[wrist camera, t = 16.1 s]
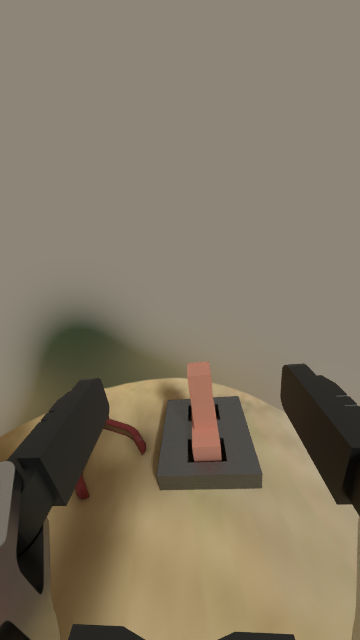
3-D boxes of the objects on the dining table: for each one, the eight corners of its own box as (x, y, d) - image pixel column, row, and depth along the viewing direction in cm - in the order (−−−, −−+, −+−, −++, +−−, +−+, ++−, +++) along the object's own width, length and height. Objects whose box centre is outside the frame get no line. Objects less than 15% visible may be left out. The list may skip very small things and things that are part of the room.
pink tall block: (195, 470, 30) (184, 391, 25) (194, 420, 38) (185, 353, 33) (222, 469, 30) (216, 389, 24) (215, 419, 38) (209, 351, 33)
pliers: (109, 394, 49) (107, 385, 48) (150, 452, 34) (147, 441, 33) (58, 421, 43) (54, 412, 42) (80, 507, 28) (74, 496, 27)
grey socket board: (160, 490, 28) (156, 476, 27) (169, 411, 41) (167, 400, 40) (261, 488, 27) (262, 473, 26) (238, 407, 40) (238, 396, 39)
